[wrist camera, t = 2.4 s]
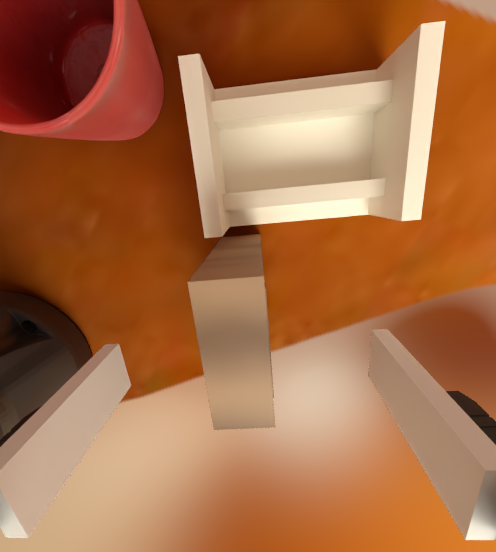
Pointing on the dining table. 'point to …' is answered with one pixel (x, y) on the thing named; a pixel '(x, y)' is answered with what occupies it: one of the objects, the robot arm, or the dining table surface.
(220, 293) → the walnut panel
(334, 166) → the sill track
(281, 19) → the dining table surface
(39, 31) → the flower pot
